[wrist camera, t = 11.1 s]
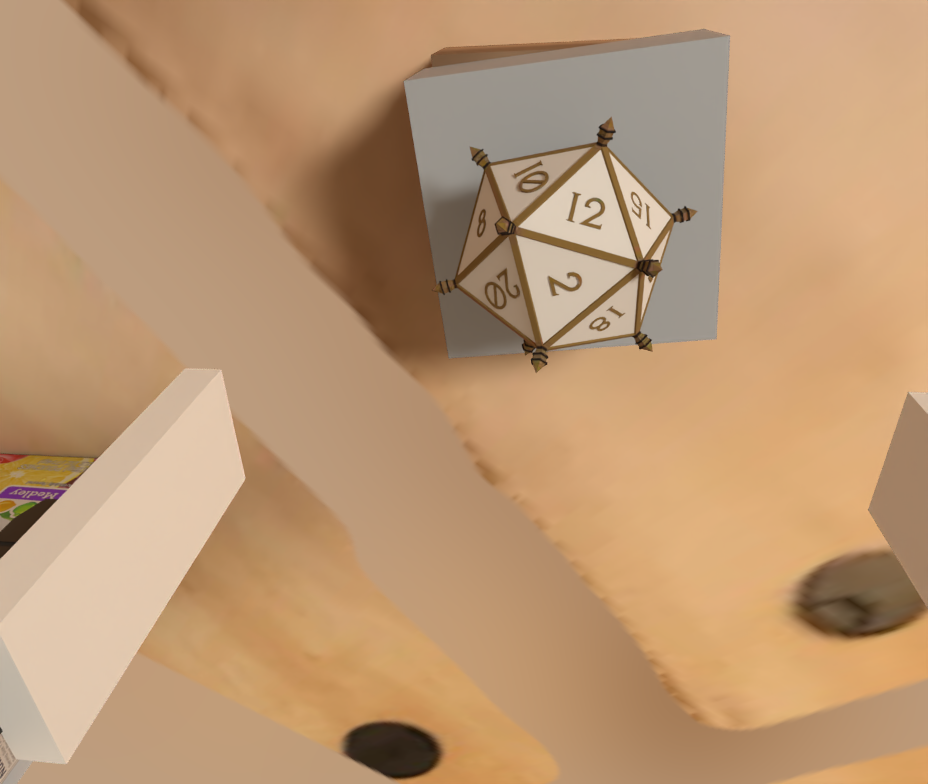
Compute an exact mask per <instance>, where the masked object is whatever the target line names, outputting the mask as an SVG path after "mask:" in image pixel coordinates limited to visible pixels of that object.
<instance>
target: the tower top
mask: <svg viewBox="0 0 928 784" xmlns="http://www.w3.org/2000/svg"><path fill="white" fill-rule="evenodd" d="M729 48H730V36H729V35H725V34H721V33H717V32H713V31H709V30H705V29H701V30H694V31H687V32H680V33H673V34H666V35H659V36H652V37H644V38H637V39H630V40H623V41H616V42H609V43H602V44H595V45H588V46H581V47H573V48H566V49H559V50H552V51H545V52H538V53H531V54H524V55H517V56H510V57H502V58H495V59H488V60H481V61H474V62H467V63H460V64H453V65H446V66H439V67H432V68H424V69H423V70H421V71H419V72H418V73H416V74H414V75H413V76H411V77H409V78H408V79H406V80H404V86H405V92H406V98H407V104H408V111H409V117H410V123H411V129H412V135H413V141H414V148H415V154H416V160H417V166H418V172H419V178H420V185H421V191H422V197H423V203H424V209H425V215H426V221H427V228H428V234H429V240H430V246H431V252H432V258H433V265H434V271H435V277H436V283H437V284H438V283H439V281H441V282H442V281H446V279H447V280H453V279H455V275H456V272H457V268H458V264H459V261H460V257H461V253H462V249H463V246H464V242H465V238H466V235H467V231H468V227H469V223H470V220H471V216H472V212H473V209H474V205H475V201H476V197H477V194H478V190H479V186H480V183H481V179H482V175H483V172H484V169H483V168H482V167H481V166H479V165H478V166H477V165H476V162H475V161H472V155H471V151H470V147H474V148H477V149H484V150H483V152H484V153H485V154H488V156H487V157H488V160H489V161H490V162H491V163H492V162H497V161H502V160H507V159H512V158H518V157H523V156H528V155H533V154H538V153H543V152H548V151H553V150H559V149H564V148H569V147H574V146H579V145H584V144H589V143H594V142H597V141H598V136H597V133H598V132H599V130H600V129H599V126H600V125H601V124H604V123H605V122H606V121H607V120H608V119H609V118H610V117H612V120H613V125H614V129H615V131H616V133H614V134H613V136H612V137H613V140H610V141H609V143H608V144H607V147H608V148H609V149H610V150H611V151H612V152H613V153H614V154H615V155H616V156H617V157H618V158H619V159H620V160H621V161H622V162H623V163H624V164H625V165H626V167H627V168H628V169H629V170H630V171H631V172H632V173H633V174H634V175H635V176H636V177H637V178H638V179H639V180H640V181H641V182H642V183H643V184H644V185H645V186H646V187H647V189H648V190H649V191H650V192H651V193H652V194H653V195H654V196H655V197H656V198H657V199H658V200H659V201H660V202H661V203H662V204H663V205H664V206H665V207H666V208H667V209H668V211H669V212H670V213H675V212H676V211H678V208H680V209H683V208H684V206H686V207H687V208H690V209H693V210H696V211H697V213H696V214H695V215H694V216H693V217H692V218H691V219H690V221H686V220H685V221H684V222H682V223H680V222H675V223H674V225H673V228H672V231H671V235H670V238H669V241H668V244H667V247H666V250H665V253H664V257H663V260H662V263H661V267H662V269H663V270H662V271H660V272H659V273H658V275H657V279H656V282H655V285H654V288H653V291H652V294H651V297H650V301H649V304H648V307H647V310H646V313H645V316H644V320H643V323H642V326H641V329H640V331H641V333H643V334H646V335H648V336H647V337H648V338H650V339H652V341H651V344H656V343H670V342H684V341H698V340H712V339H717V316H718V294H719V272H720V249H721V227H722V205H723V182H724V160H725V138H726V115H727V93H728V71H729ZM469 146H470V147H469ZM438 295H439V302H440V308H441V314H442V320H443V326H444V332H445V339H446V345H447V351H448V357H449V358H461V357H475V356H489V355H503V354H517V353H525V352H524V351H523V348H522V344H523V343H524V341H523V340H524V339H523V338H521V337H520V336H519V335H518V334H516V333H515V332H514V331H512V330H511V329H510V328H508V327H507V326H506V325H505V324H503V323H502V322H501V321H499V320H498V319H497V318H495V317H494V316H493V315H492V314H490V313H489V312H488V311H486V310H485V309H484V308H482V307H481V306H480V305H479V304H477V303H476V302H475V301H473V300H472V299H471V298H469V297H468V296H467V295H466V294H464V293H463V292H462V291H460V290H459V289H458V288H455V289H453V290H452V291H451V293H449V292H448V293H445V295H443V294H442V293H439V292H438ZM635 343H636V341H635V339H634V338H633V337H627V338H621V339H615V340H609V341H603V342H597V343H591V344H585V345H579V346H573V347H568V348H562V349H556V350H550V351H559V350H573V349H586V348H600V347H614V346H628V345H636V344H635ZM535 351H536V348H535V349H534V350H533V352H535ZM530 353H531V352H530Z"/></svg>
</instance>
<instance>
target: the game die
mask: <svg viewBox="0 0 928 784" xmlns="http://www.w3.org/2000/svg"><path fill="white" fill-rule="evenodd" d="M599 129H600V130H599V132H598V133H597V136H598V141H597V142H594V143H589V144H584V145H579V146H574V147H569V148H564V149H559V150H553V151H548V152H543V153H538V154H533V155H528V156H523V157H518V158H512V159H507V160H502V161H497V162H492V163H491V162H490V161H489V160H488V157H487V156H488V154H485V153H484V152H483V150H484V149H477V148H474V147H470V146H469V147H470V151H471V155H472V161H475V162H476V165H477V166H478V165H479V166H481V167H482V168H483V169H484V172H483V175H482V179H481V183H480V186H479V190H478V194H477V197H476V201H475V205H474V209H473V212H472V216H471V220H470V223H469V227H468V231H467V235H466V238H465V242H464V246H463V249H462V253H461V257H460V261H459V264H458V268H457V272H456V275H455V279H453V280H447V279H446V281H442V282H441V281H439V283H438V284H437V285H436V286H435V287H434V288H433V289H432V291H435V292H439V293H442V294H443V295H445V293H448V292H449V293H451V291H452V290H453V289H455V288H458V289H459V290H460V291H462V292H463V293H464V294H466V295H467V296H468V297H469V298H471V299H472V300H473V301H475V302H476V303H477V304H479V305H480V306H481V307H482V308H484V309H485V310H486V311H488V312H489V313H490V314H492V315H493V316H494V317H495V318H497V319H498V320H499V321H501V322H502V323H503V324H505V325H506V326H507V327H508V328H510V329H511V330H512V331H514V332H515V333H516V334H518V335H519V336H520V337H521V338H523V339H524V340H523V341H524V343H523V344H522V348H523V351H524V352H525V355H527V354H528V353H530V352H531V353H532V352H533V350H534V349H535V348H536V351H535V352H533V358H531V363H532V365H533V366H534V369H535V371H536V373H537V372H538V371H539V370H540V369H541V368H542V367H543V366H545V365H547V362H546V359H547V358H548V356H547V355H546V351H550V350H556V349H562V348H568V347H573V346H579V345H585V344H591V343H597V342H603V341H609V340H615V339H621V338H627V337H633V338H634V339H635V341H636V343H635V344H636V345H638V346H639V349H644V350H648V351H652V344H651V341H652V339H650V338H648V337H647V336H648V335H646V334H643V333H641V331H640V329H641V326H642V323H643V320H644V316H645V313H646V310H647V307H648V304H649V301H650V297H651V294H652V291H653V288H654V285H655V282H656V279H657V275H658V273H659V272H660V271H662V270H663V269H662V267H661V263H662V260H663V257H664V253H665V250H666V247H667V244H668V241H669V238H670V235H671V231H672V228H673V225H674V223H675V222H680V223H682V222H684V221H685V220H686V221H690V219H691V218H692V217H693V216H694V215H695V214H696V213H697V211H696V210H693V209H690V208H687V207H686V206H684V208H683V209H680V208H678V211H676V212H675V213H670V212H669V211H668V209H667V208H666V207H665V206H664V205H663V204H662V203H661V202H660V201H659V200H658V199H657V198H656V197H655V196H654V195H653V194H652V193H651V192H650V191H649V190H648V189H647V187H646V186H645V185H644V184H643V183H642V182H641V181H640V180H639V179H638V178H637V177H636V176H635V175H634V174H633V173H632V172H631V171H630V170H629V169H628V168H627V167H626V165H625V164H624V163H623V162H622V161H621V160H620V159H619V158H618V157H617V156H616V155H615V154H614V153H613V152H612V151H611V150H610V149H609V148H608V147H607V144H608V143H609V141H610V140H613V137H612V136H613V134H614V133H616V131H615V129H614V125H613V120H612V117H610V118H609V119H608V120H607V121H606V122H605V123H604V124H601V125H600V126H599ZM652 352H653V351H652Z"/></svg>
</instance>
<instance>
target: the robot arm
mask: <svg viewBox="0 0 928 784" xmlns="http://www.w3.org/2000/svg"><path fill="white" fill-rule="evenodd" d="M244 480H245V474H244V470H243V465H242V461H241V456H240V452H239V447H238V443H237V438H236V434H235V429H234V425H233V420H232V416H231V411H230V407H229V402H228V398H227V394H226V389H225V384H224V380H223V376H222V371H221V369H193V368H185V369H184V370H183V371H182V372H181V373H180V374H179V375H178V376H177V377H176V378H175V379H174V380H173V381H172V382H171V383H170V385H169V386H168V387H167V388H166V389H165V390H164V391H163V392H162V393H161V394H160V395H159V396H158V397H157V398H156V399H155V400H154V401H153V402H152V403H151V404H150V405H149V406H148V407H147V408H146V409H145V410H144V411H143V412H142V413H141V414H140V415H139V416H138V418H137V419H136V420H135V421H134V422H133V423H132V424H131V425H130V426H129V427H128V428H127V429H126V430H125V431H124V432H123V433H122V434H121V435H120V436H119V437H118V438H117V439H116V440H115V441H114V442H113V443H112V444H111V445H110V446H109V447H108V448H107V450H106V451H105V452H104V453H103V454H102V455H101V456H100V457H99V458H98V459H97V460H96V461H95V462H94V463H93V464H92V465H91V466H90V467H89V468H88V469H87V470H86V471H85V472H84V473H83V474H82V475H81V476H80V477H79V478H78V479H77V480H76V481H75V483H74V484H73V485H72V486H71V487H70V488H69V489H68V490H67V491H66V492H65V493H64V494H63V495H62V496H61V497H60V498H59V499H44V500H43V501H41V502H39V503H38V504H36V505H34V506H33V507H31V508H30V509H28V510H26V511H25V512H23V513H21V514H20V515H18V516H16V517H15V518H14V519H13V520H12V521H11V522H10V523H8V524H7V525H6V526H5V527H4V528H3V529H2V530H1V531H0V734H2V735H3V737H4V739H5V741H6V743H7V744H8V746H9V748H10V750H11V751H12V753H13V755H14V757H15V758H16V759H18V760H28V761H39V762H49V763H59V764H67V763H68V761H69V759H70V758H71V756H72V755H73V753H74V751H75V750H76V748H77V747H78V745H79V743H80V742H81V740H82V739H83V737H84V735H85V734H86V732H87V731H88V729H89V727H90V726H91V724H92V722H93V721H94V719H95V718H96V716H97V715H98V713H99V712H100V710H101V708H102V707H103V705H104V704H105V702H106V700H107V699H108V697H109V695H110V694H111V692H112V691H113V689H114V688H115V686H116V684H117V683H118V681H119V680H120V678H121V676H122V675H123V673H124V672H125V670H126V668H127V667H128V665H129V664H130V662H131V660H132V659H133V657H134V656H135V654H136V653H137V651H138V649H139V648H140V646H141V645H142V643H143V641H144V640H145V638H146V637H147V635H148V633H149V632H150V630H151V629H152V627H153V625H154V624H155V622H156V621H157V619H158V617H159V616H160V614H161V613H162V611H163V610H164V608H165V606H166V605H167V603H168V602H169V600H170V598H171V597H172V595H173V594H174V592H175V590H176V589H177V587H178V586H179V584H180V582H181V581H182V579H183V578H184V576H185V574H186V573H187V571H188V570H189V568H190V567H191V565H192V563H193V562H194V560H195V559H196V557H197V555H198V554H199V552H200V551H201V549H202V547H203V546H204V544H205V543H206V541H207V539H208V538H209V536H210V535H211V533H212V531H213V530H214V528H215V527H216V525H217V523H218V522H219V520H220V519H221V517H222V516H223V514H224V512H225V511H226V509H227V508H228V506H229V504H230V503H231V501H232V500H233V498H234V496H235V495H236V493H237V492H238V490H239V488H240V487H241V485H242V484H243V482H244ZM868 511H869V512H870V514H871V516H872V517H873V519H874V521H875V522H876V524H877V526H878V527H879V529H880V531H881V532H882V534H883V536H884V537H885V539H886V540H887V542H888V544H889V545H890V547H891V549H892V550H893V552H894V554H895V555H896V557H897V559H898V560H899V562H900V564H901V565H902V567H903V569H904V570H905V572H906V574H907V575H908V577H909V579H910V580H911V582H912V583H913V585H914V587H915V588H916V590H917V592H918V593H919V595H920V597H921V598H922V600H923V602H924V603H925V605H926V607H927V608H928V393H924V392H908V394H907V397H906V400H905V403H904V406H903V409H902V412H901V415H900V417H899V420H898V423H897V426H896V429H895V432H894V435H893V438H892V441H891V444H890V447H889V450H888V453H887V456H886V459H885V462H884V465H883V468H882V470H881V473H880V476H879V479H878V482H877V485H876V488H875V491H874V494H873V497H872V500H871V503H870V506H869V509H868Z"/></svg>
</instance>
